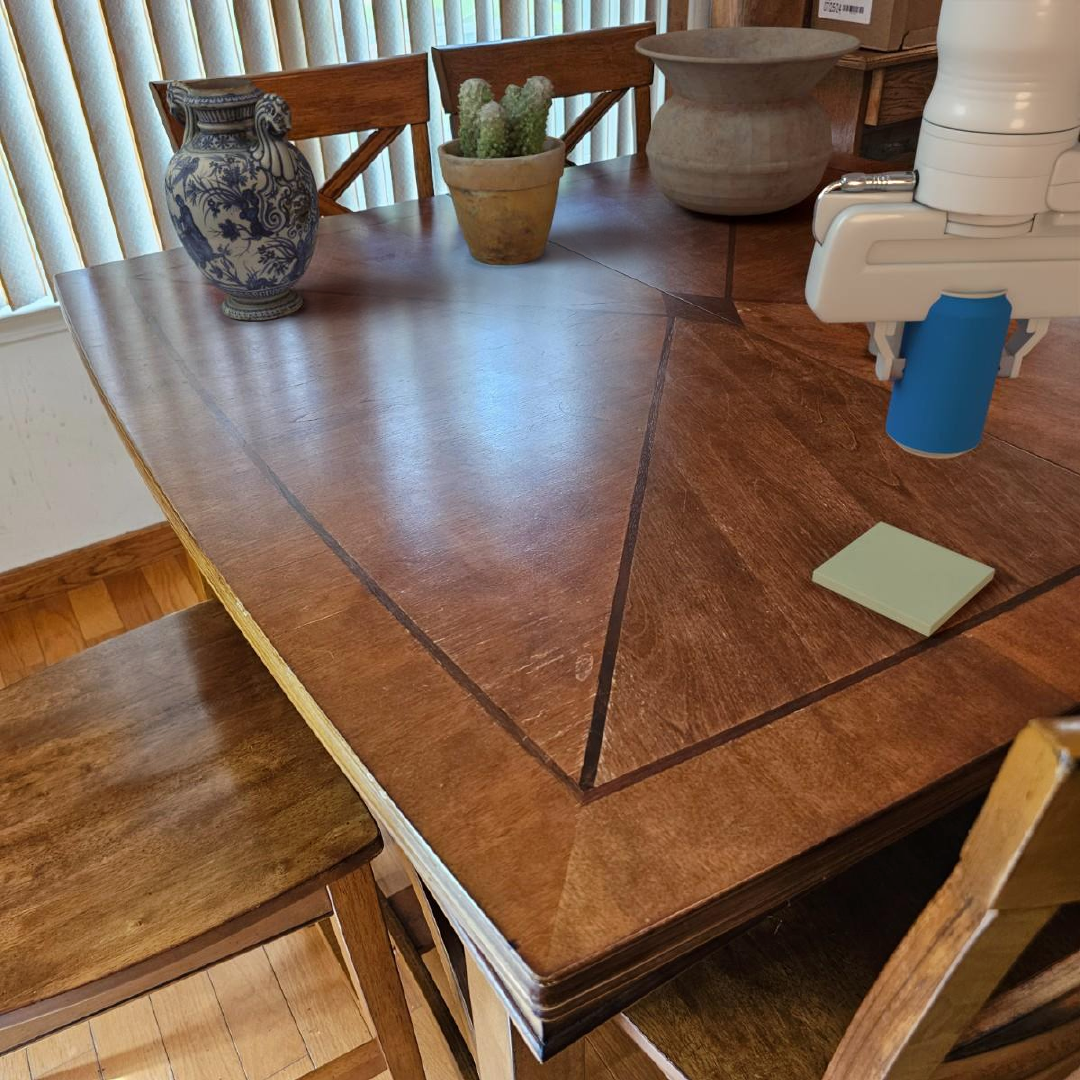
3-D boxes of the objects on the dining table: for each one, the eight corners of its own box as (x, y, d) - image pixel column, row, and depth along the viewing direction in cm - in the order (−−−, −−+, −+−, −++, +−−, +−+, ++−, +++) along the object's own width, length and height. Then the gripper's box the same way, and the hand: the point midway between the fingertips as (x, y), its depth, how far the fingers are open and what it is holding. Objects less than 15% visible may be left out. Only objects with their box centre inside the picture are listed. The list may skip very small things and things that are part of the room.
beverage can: (998, 448, 70) (1041, 284, 63) (933, 473, 68) (970, 305, 61) (927, 413, 75) (960, 257, 68) (864, 435, 72) (891, 276, 66)
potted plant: (432, 271, 143) (414, 85, 129) (463, 233, 158) (450, 62, 144) (556, 275, 140) (552, 84, 126) (576, 235, 155) (573, 61, 141)
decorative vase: (369, 298, 135) (339, 75, 119) (269, 345, 122) (221, 102, 107) (260, 274, 145) (219, 65, 129) (157, 315, 132) (98, 89, 117)
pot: (752, 252, 145) (769, 66, 131) (589, 209, 167) (589, 46, 153) (879, 203, 164) (906, 36, 150) (718, 170, 185) (728, 21, 171)
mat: (992, 579, 78) (995, 568, 77) (928, 637, 72) (931, 626, 72) (878, 530, 84) (880, 520, 83) (811, 581, 78) (813, 570, 78)
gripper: (829, 187, 58) (802, 399, 66) (1183, 177, 57) (1114, 393, 65) (808, 161, 64) (785, 360, 71) (1133, 152, 63) (1074, 355, 70)
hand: (945, 376), depth 68 cm, fingers closed on beverage can, 6 cm apart
